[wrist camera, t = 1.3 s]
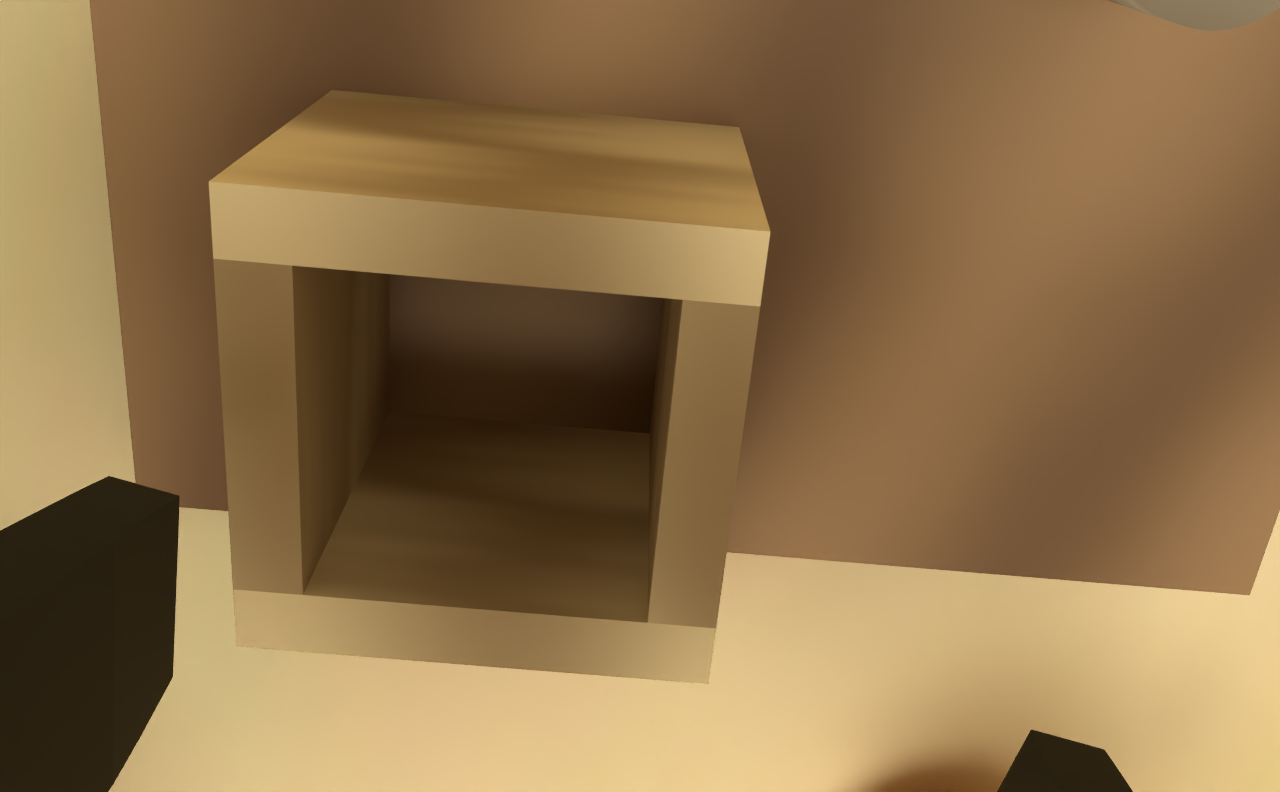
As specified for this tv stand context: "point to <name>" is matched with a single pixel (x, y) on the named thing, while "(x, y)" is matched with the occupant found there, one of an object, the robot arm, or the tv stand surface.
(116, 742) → the robot arm
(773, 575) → the tv stand surface
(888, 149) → the wooden tray
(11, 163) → the tv stand surface
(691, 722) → the tv stand surface
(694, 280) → the hollow wooden box
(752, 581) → the tv stand surface
